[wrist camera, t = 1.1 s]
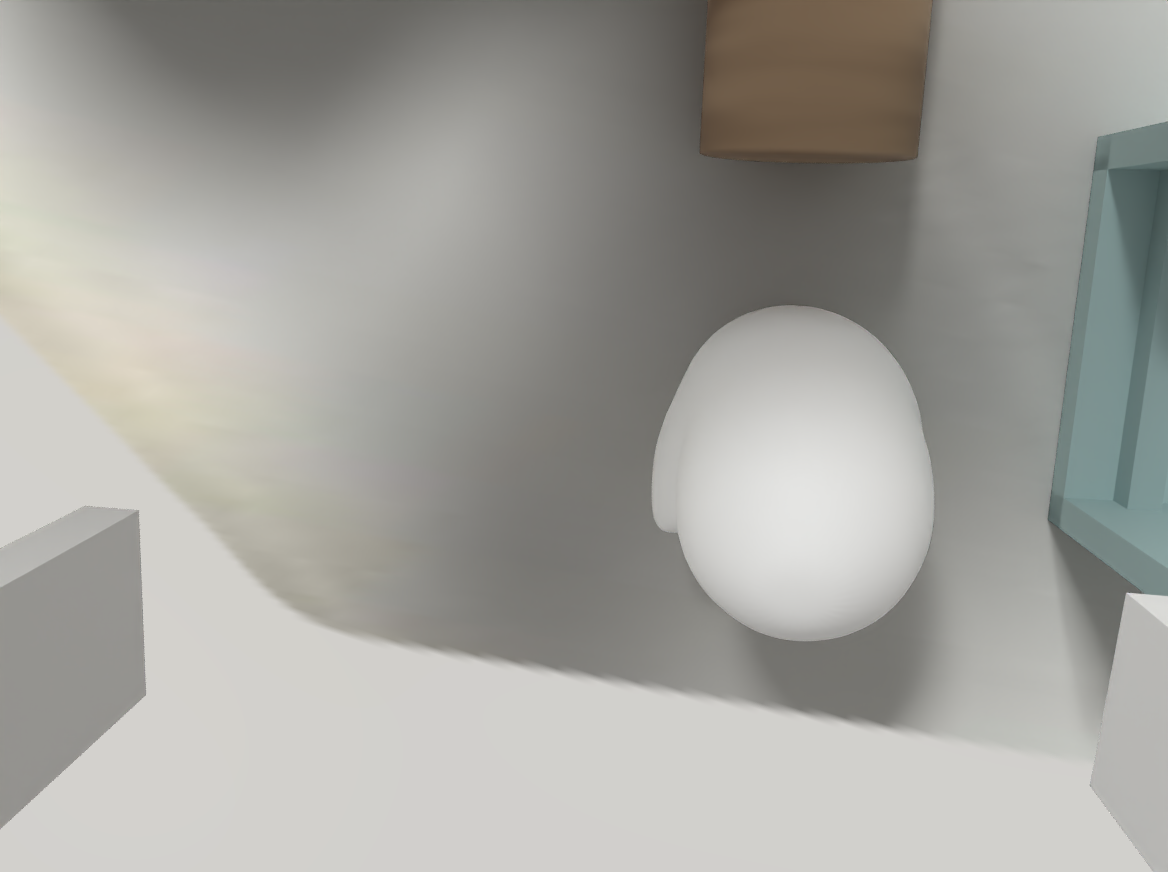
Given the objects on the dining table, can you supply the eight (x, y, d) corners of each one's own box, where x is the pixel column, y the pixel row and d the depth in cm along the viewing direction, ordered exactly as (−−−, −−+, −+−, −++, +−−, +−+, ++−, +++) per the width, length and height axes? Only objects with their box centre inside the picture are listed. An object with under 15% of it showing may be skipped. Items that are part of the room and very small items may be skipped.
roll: (711, -118, 30) (721, -203, 24) (917, -116, 30) (978, -203, 24) (696, 160, 32) (702, 143, 26) (891, 165, 31) (942, 150, 25)
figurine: (635, 488, 34) (616, 624, 22) (709, 270, 32) (731, 291, 20) (838, 554, 34) (927, 726, 22) (922, 338, 32) (1067, 399, 20)
